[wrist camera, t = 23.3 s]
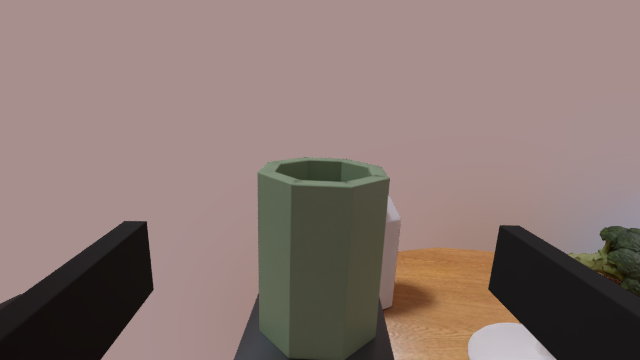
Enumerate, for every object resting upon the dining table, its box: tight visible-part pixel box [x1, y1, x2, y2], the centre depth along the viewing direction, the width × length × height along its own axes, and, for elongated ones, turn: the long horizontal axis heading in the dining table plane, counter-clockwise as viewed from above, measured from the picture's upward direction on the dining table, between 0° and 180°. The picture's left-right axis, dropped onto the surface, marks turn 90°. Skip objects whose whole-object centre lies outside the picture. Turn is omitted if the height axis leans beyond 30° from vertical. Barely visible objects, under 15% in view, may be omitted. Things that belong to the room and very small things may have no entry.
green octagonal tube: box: [258, 157, 390, 360], centre depth 18 cm, size 6×6×9 cm
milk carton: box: [379, 194, 401, 310], centre depth 52 cm, size 7×7×19 cm
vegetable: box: [567, 226, 640, 298], centre depth 61 cm, size 12×13×15 cm
